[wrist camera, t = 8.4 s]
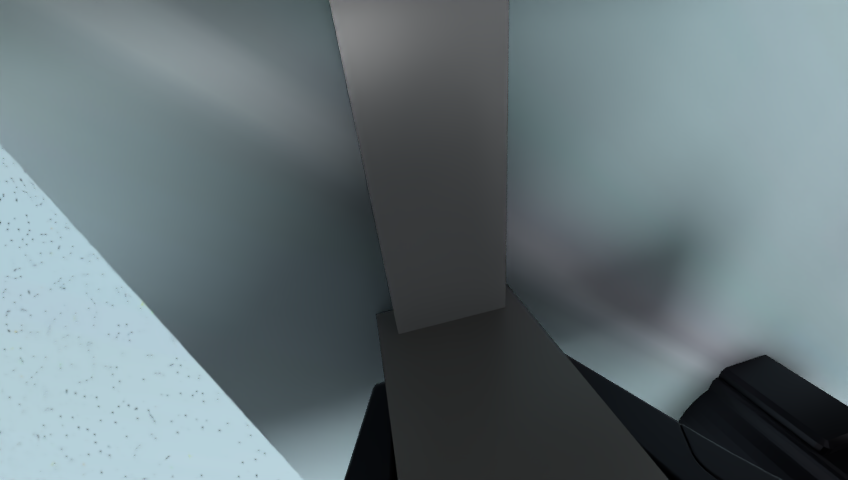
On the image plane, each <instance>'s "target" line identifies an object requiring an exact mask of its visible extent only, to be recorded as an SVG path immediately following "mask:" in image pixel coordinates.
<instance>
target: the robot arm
mask: <svg viewBox="0 0 848 480" xmlns="http://www.w3.org/2000/svg"><path fill="white" fill-rule="evenodd" d="M565 355H566V354H565ZM566 356H567V358H568V359H569V360H570V361H571V362H572V364H573V365H574V366H575V367H576V368H577V370H578V371H579V372H580V373H581V374H582V376H583V377H584V378H585V379H586V380H587V382H588V383H589V384H590V385H591V387H592V388H593V389H594V390H595V391H596V393H597V394H598V395H599V396H600V397H601V399H602V400H603V401H604V402H605V403H606V405H607V406H608V407H609V408H610V409H611V411H612V412H613V413H614V414H615V415H616V417H617V418H618V419H619V420H620V421H621V423H622V424H623V425H624V426H625V428H626V429H627V430H628V431H629V432H630V434H631V435H632V436H633V437H634V438H635V440H636V441H637V442H638V443H639V444H640V446H641V447H642V448H643V449H644V450H645V452H646V453H647V454H648V455H649V456H650V458H651V459H652V460H653V461H654V462H655V464H656V465H657V466H658V467H659V468H660V470H661V471H662V472H663V473H664V475H665V476H666V477H667V478H668V479H669V480H848V406H847V405H845V404H843V403H842V402H840V401H839V400H837V399H835V398H834V397H832V396H831V395H829V394H827V393H826V392H824V391H823V390H821V389H819V388H818V387H816V386H815V385H813V384H811V383H810V382H808V381H807V380H805V379H803V378H802V377H800V376H799V375H797V374H795V373H794V372H792V371H791V370H789V369H787V368H786V367H784V366H783V365H781V364H779V363H778V362H776V361H775V360H773V359H771V358H770V357H768V356H767V355H763V356H760V357H757V358H754V359H751V360H748V361H745V362H742V363H739V364H736V365H733V366H730V367H727V368H725V369H724V370H723V371H721V374H720V376H719V377H718V378H716V379H715V380H714V381H713V382H712V384H711V386H710V388H709V389H708V390H707V391H706V392H705V393H704V394H702V395H701V396H700V397H699V398H698V399H697V400H696V401H695V402H694V403H692V404H691V406H690V407H689V408H688V409H687V410H686V411H685V413H684V414H683V415H682V417H681V419H680V420H679V422H678V421H676V420H675V419H673V418H671V417H670V416H668V415H666V414H665V413H663V412H661V411H660V410H658V409H656V408H654V407H653V406H651V405H649V404H648V403H646V402H644V401H643V400H641V399H639V398H638V397H636V396H634V395H633V394H631V393H629V392H628V391H626V390H624V389H623V388H621V387H619V386H618V385H616V384H614V383H613V382H611V381H609V380H608V379H606V378H604V377H603V376H601V375H599V374H598V373H596V372H594V371H593V370H591V369H589V368H588V367H586V366H584V365H583V364H581V363H579V362H578V361H576V360H574V359H573V358H571V357H569V356H568V355H566ZM344 480H398V476H397V469H396V461H395V453H394V446H393V438H392V431H391V423H390V415H389V408H388V400H387V393H386V385H385V382H382V383H378V384H376V385H375V386H374V388H373V390H372V394H371V397H370V400H369V403H368V406H367V409H366V412H365V416H364V419H363V422H362V425H361V428H360V431H359V435H358V438H357V441H356V444H355V447H354V450H353V454H352V457H351V460H350V463H349V466H348V469H347V473H346V476H345V479H344Z"/></svg>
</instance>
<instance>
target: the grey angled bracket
mask: <svg viewBox="0 0 848 480" xmlns="http://www.w3.org/2000/svg"><path fill="white" fill-rule="evenodd" d="M329 2H330V7H331V12H332V17H333V22H334V26H335V31H336V36H337V41H338V46H339V50H340V55H341V60H342V65H343V70H344V75H345V79H346V84H347V89H348V94H349V99H350V104H351V108H352V113H353V118H354V123H355V128H356V133H357V137H358V142H359V147H360V152H361V157H362V161H363V166H364V171H365V176H366V181H367V186H368V190H369V195H370V200H371V205H372V210H373V215H374V219H375V224H376V229H377V234H378V239H379V243H380V248H381V253H382V258H383V263H384V268H385V272H386V277H387V282H388V287H389V292H390V297H391V301H392V306H393V310H391V311H387V312H383V313H379V314H376V317H377V324H378V332H379V340H380V347H381V355H382V362H383V370H384V377H385V385H386V393H387V400H388V408H389V415H390V423H391V431H392V438H393V446H394V453H395V461H396V469H397V476H398V480H669V479H668V478H667V477H666V476H665V475H664V473H663V472H662V471H661V470H660V468H659V467H658V466H657V465H656V464H655V462H654V461H653V460H652V459H651V458H650V456H649V455H648V454H647V453H646V452H645V450H644V449H643V448H642V447H641V446H640V444H639V443H638V442H637V441H636V440H635V438H634V437H633V436H632V435H631V434H630V432H629V431H628V430H627V429H626V428H625V426H624V425H623V424H622V423H621V421H620V420H619V419H618V418H617V417H616V415H615V414H614V413H613V412H612V411H611V409H610V408H609V407H608V406H607V405H606V403H605V402H604V401H603V400H602V399H601V397H600V396H599V395H598V394H597V393H596V391H595V390H594V389H593V388H592V387H591V385H590V384H589V383H588V382H587V380H586V379H585V378H584V377H583V376H582V374H581V373H580V372H579V371H578V370H577V368H576V367H575V366H574V365H573V364H572V362H571V361H570V360H569V359H568V358H567V356H566V355H565V354H564V353H563V352H562V350H561V349H560V348H559V347H558V346H557V344H556V343H555V342H554V341H553V339H552V338H551V337H550V336H549V335H548V333H547V332H546V331H545V330H544V329H543V327H542V326H541V325H540V324H539V323H538V321H537V320H536V319H535V318H534V317H533V315H532V314H531V313H530V312H529V311H528V309H527V308H526V307H525V306H524V305H523V303H522V302H521V301H520V300H519V299H518V297H517V296H516V295H515V294H514V292H513V291H512V290H511V289H510V288H509V286H508V285H507V284H506V214H507V128H508V42H509V0H329Z"/></svg>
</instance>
